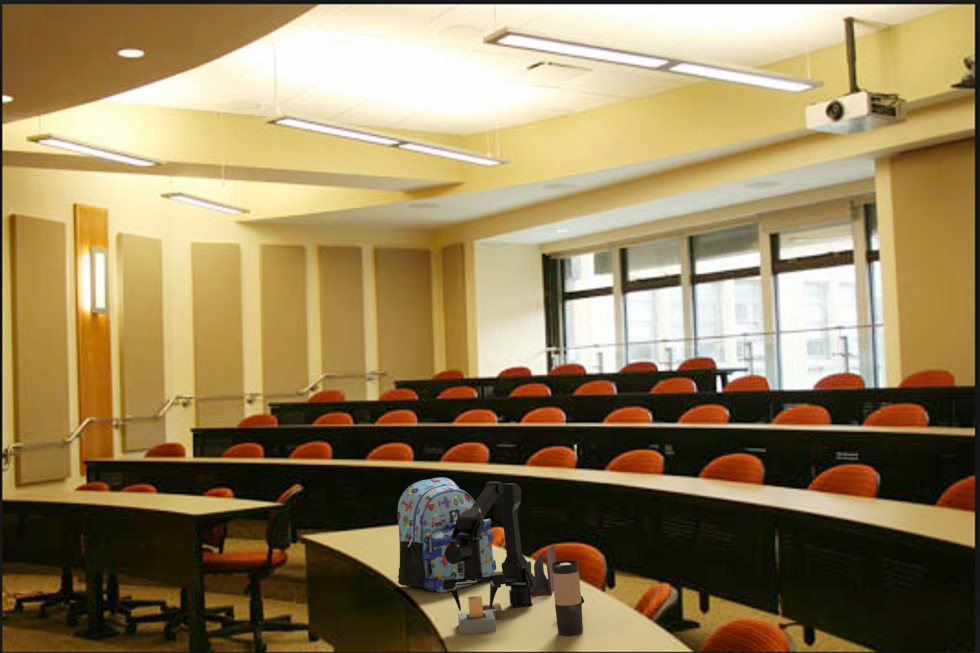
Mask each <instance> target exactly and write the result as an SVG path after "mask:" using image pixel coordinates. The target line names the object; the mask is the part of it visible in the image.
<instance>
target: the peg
mask: <svg viewBox="0 0 980 653" xmlns="http://www.w3.org/2000/svg"><path fill="white" fill-rule="evenodd" d="M467 600H468V601H467V602H468V613H469V616H470V619H478V618H483V605H484V604H483V597H482V595H477V596H476V595H475V596H474V595H473V596H468V597H467Z"/></svg>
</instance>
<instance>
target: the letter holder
mask: <svg viewBox="0 0 980 653" xmlns="http://www.w3.org/2000/svg"><path fill="white" fill-rule="evenodd" d="M556 561H557V559H556V550H555V545H554V544H551V545H550V546H549V547H548V549H547V551H546V554H545V563H546V564H545V565H546V571H547V576H546V574H545V568H544V555H543V553H540V554H538V555H537V557H535V561H534V564H533V572H534V573H533V575H534V577H535V585H534V586H532V587H530V588H531V597H536V596H537V597H538V596H552V594H553V593H554V583H553V569H552V563H553V562H556ZM527 562H528V567H529V570H530V571H531V572H532V562H531V561H530V560H528V561H527Z"/></svg>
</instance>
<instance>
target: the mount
mask: <svg viewBox="0 0 980 653" xmlns="http://www.w3.org/2000/svg"><path fill="white" fill-rule="evenodd" d="M482 605H483V611H490V610H492V611H493V614H494V617H495V620H496V619H499V620H500V619H504V616H503V615H504V614H503V609H502V606H501V603H500V602H498V603H493V604H492V608H490V603H487V604H482Z"/></svg>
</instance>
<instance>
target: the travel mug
mask: <svg viewBox="0 0 980 653" xmlns="http://www.w3.org/2000/svg"><path fill="white" fill-rule="evenodd" d="M552 569H553V583H554V590H553V595H554V608H555V617H556V625H557V633H558V635H560V636H563V637H575V636H579V635H581V634H583V633H584V628H583V627H584V625H583V624H584V623H583V608H582V607H583V606H582V605H583V604H582V602H581V596H582V593H581V591H582V590H581V582H580V580H581V579H580V572H579V562H578V560H575V559H563V560H562V559H561V560H556V562H553V563H552Z"/></svg>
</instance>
